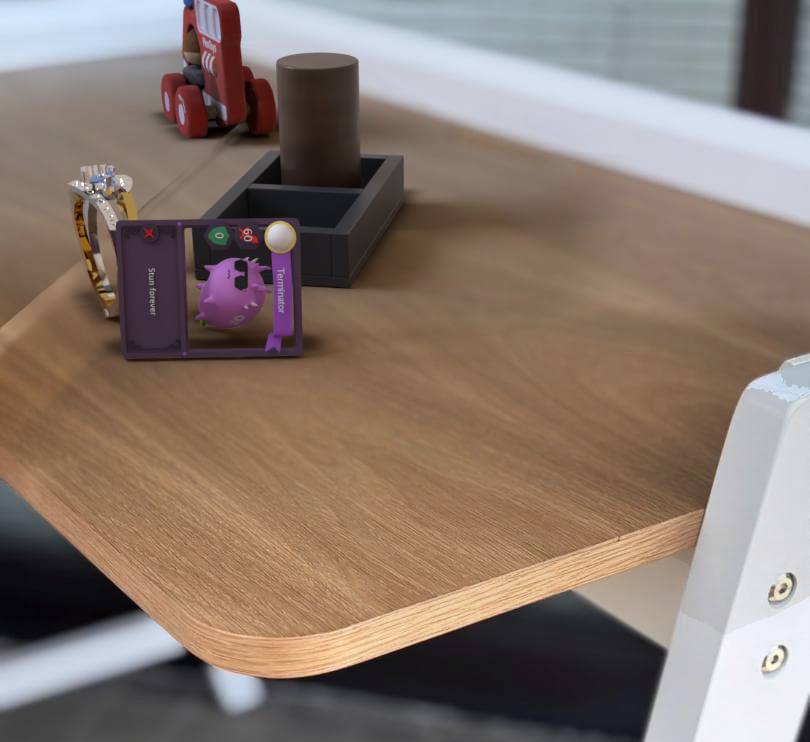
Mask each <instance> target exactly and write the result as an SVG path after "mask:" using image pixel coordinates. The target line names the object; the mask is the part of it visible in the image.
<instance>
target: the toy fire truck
mask: <svg viewBox="0 0 810 742" xmlns="http://www.w3.org/2000/svg"><path fill="white" fill-rule="evenodd" d="M182 2H183V3H182V4H184V8H183V10H182V45H181V53H182V61H183V62H182V64H183V68H182V71H181V72H182V73H180V72H172V73H171V72H170V73H165V74H164V75H163V76H162V78H161V82H160V94H161V102H162V109H163V112H164V116H165V118H167V119H168V120H169V121H170V122H171V123H173V124H177V128H178V131H179V133H181V135H183V136H184V137H186V138H188V139H194V138H205V137H207V134H208V130H209V120H215V124H216V125H217V126H218V127H219V128H224V127H230V126H235V125H238V124H242V123H244V122H245V123H246V126H247V128H248V130H249V132H251V134H253V135H254V136H259V135H260V136H261V135H268V134H271V133H273V132H274V130H275V127H276V125H277V124H276V123H277V104H276V99H275V94H274V91H273V88H272V86H271V84H270V82H269V81H268V80H267V79H266V78H264V77H257V78H255V76H254V73H253V71H252V69H251V68H250V67H249V66H247V65H243V58H242V57H243V56H242V47H241V46H242V44H241V43H242V35H243V34H242V24H241V13H240V8H239V6H238V4H237V2H235V1H233V0H182Z"/></svg>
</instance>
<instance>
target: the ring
mask: <svg viewBox="0 0 810 742" xmlns="http://www.w3.org/2000/svg"><path fill="white" fill-rule="evenodd" d="M115 170H116V167H115V166H114V165H107V164H106V163H104V164H99V165H98V164H95V165H94V164H93V165H89V166H88V165H83V166H82V167H79V171H80V176H81V181H80V180H78V179H74V180H72V181H70V182H67V183H66V185H67V186H68V187H69V189H68V192H67V200H68V206H69V211H70V215H71V219H72V224H73V228H74V231H75V234H76V239H77V243H78V246H79V249H80V252H81V256H82V259H83V263H84V266H85V268H86V272H87V274H88V277H89V280H90V283H91V285H92V288H93V290H94V291H93V292H94V293H95V296H96V298H97V300H98V302H99V303H100V306H101V308H102V311H103V315H104V316H105V318H106V319H109V318H116V317H120V312H119V290H118V268H117V247H116V222H117V221H119V220H118V217H117V214H116V213H115V211H114V209H113V207H112V206H111V204H110V203H109V201H114V200H116V204H115V205H116V206H117V208H118V210H119V213H120V215H121V218H122V220H139V217H138V211H137V206H136V202H135V198H134V196H133V194H132V191H131V190H132V188H133V184H134V183H133V182H134V181H133V179H132V178H131V177H130V175H127V174H116V171H115ZM116 186H117V187H119V189H117V190H116ZM84 203H85V205H84ZM98 214H99V215H100V216H101V218H102V220H103V222H104V224H105V226H106V228H107V231H108V234H109V237H110V240H111V245H112V249H113V254H114V259H115V269H116V292H114V291H113V288H112V286H111V284H110V281H109V277H108V275H107V272H106V269H105V265H104V261H103V258H102V257H103V256H102V252H101V247H100V242H99V241H100V240H99V234H98V233H99V232H98ZM84 216H85V218H84Z"/></svg>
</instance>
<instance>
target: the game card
mask: <svg viewBox="0 0 810 742" xmlns="http://www.w3.org/2000/svg"><path fill="white" fill-rule="evenodd" d="M230 227H237V228H236V230H235V232H234V233H233V231H232V230H231V228H230ZM259 227H268V228H267V229H266V231H265V236H264V234H263V233H262V231H261V229H260V228H259ZM192 228H208V229H207V230H206V232H205V234H204V238H205V240H206V241H207V243H208V245H209V246H210V248H211V249H212V250H228V249H229V247H230V245H231V243H232V241H233V239H235V241H236V243H237V244H238V246H239V248H240V249H241V250H251V249H257V248H258V246H259V244H260V242H261V240H262V238H263V236H264V237H265V243H266V245H267V247H268V248H269V249H270V250H271V251H272V271H273V283H272V285H273V289H272V290H273V292H272V291H271V289H269V288H268V287H266V286H265V283H264V282H263V279H262V277H261V275H260V273H259V272H261V271H263V270H271V268H270V267H268V266H258V265H259V263H256V264H255V262H256V260H258V258H256V259H254V260H252V261H248V259H249V257H247V258H245V259H240V258H229V259H226V260H224V261H222V262H220V263H219V264H217V265H205V266H204V268H205V269H207V270H208V271H209V272H210V276H209V278H208V280H206V282H200V283H196V284H195V287H196V288H197V289H199V290H200V293H199V297H198V304H197V305H198V310H199V313H198V314H197V315H195V316H194V319H195V320H199V325H200V326H201V327H205V328H208V326H212V327H215V328H218V329H234V328H238V327H241V326H244V325H246V324H247V323H249V322H251V321H253V319H254V318H255V317H256V316H258V314H259V313H260V311H261V310H262V308H263V306H264V305H265V301H266V294H272V293H273V303H272V304H273V305H272V306H273V307H272V308H273V313H272V315H273V317H272V318H273V323H272V325H273V326H272V327H273V332H269V334H268V336H267V340H266V345H265V347H249V348H247V347H245V348H240V347H239V348H191V347H190V337H189V314H188V313H189V312H188V311H189V310H188V289H187V288H188V286H187V285H188V284H187V263H186V236H185V230H186V229H192ZM116 247H117V268H118V290H119V312H120V316H119V329H120V330H119V331H120V332H119V333H120V352H121V356H122V358H124V359H176V358H180V359H181V358H182V359H184V358H232V357H233V358H234V357H236V358H237V357H238V358H239V357H243V358H244V357H285V356H286V357H295V356H301V355H302V354H303V352H304V337H303V336H304V334H303V333H304V331H303V299H302V298H303V295H302V285H301V255H300V223H299V220H298V219H296V218H249V219H200V218H195V219H194V218H192V219H191V218H190V219H189V218H187V219H185V218H184V219H183V218H182V219H181V218H179V219H138V220H123V219H122V220H121V219H120V220H118V221H117V222H116ZM291 249H292V272H291V257H290V250H291ZM292 277H293V285H292ZM292 335H293V344H294V345H293V347H282V339H283V337H291V336H292Z"/></svg>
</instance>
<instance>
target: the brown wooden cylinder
mask: <svg viewBox="0 0 810 742" xmlns="http://www.w3.org/2000/svg"><path fill="white" fill-rule="evenodd" d="M275 68H276V69H275V71H276V91H277V93H276V94H277V113H278V114H277V117H278V136H279V137H278V138H279V139H278V140H279V150H280V162H281V184H282V185H292V186H314V187H335V188H357V189H361V156H360V154H361V113H360V111H361V109H360V105H361V104H360V61H359V59H358V58H357V57H355V56H353V55H351V54H345V53H338V52H325V51H324V52H323V51H322V52H302V53H301V52H300V53H295V54H288V55H285V56H282V57H280V58H278V59H276V61H275Z"/></svg>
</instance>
